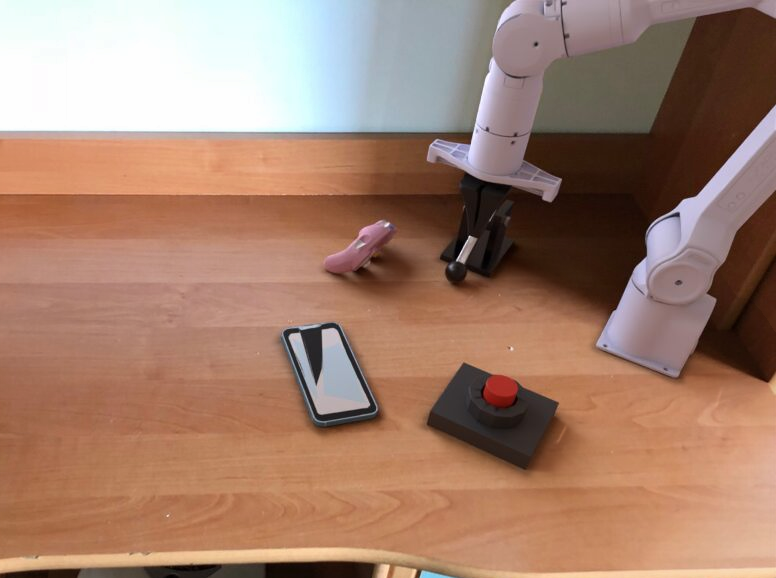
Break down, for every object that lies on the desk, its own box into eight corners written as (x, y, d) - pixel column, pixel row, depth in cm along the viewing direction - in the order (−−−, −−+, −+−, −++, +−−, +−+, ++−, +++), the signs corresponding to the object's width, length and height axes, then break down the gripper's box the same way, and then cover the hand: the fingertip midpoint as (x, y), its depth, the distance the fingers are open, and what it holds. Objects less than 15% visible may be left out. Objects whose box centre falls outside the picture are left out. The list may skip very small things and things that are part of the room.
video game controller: (342, 291, 103) (369, 261, 97) (318, 266, 103) (343, 235, 97) (383, 256, 108) (410, 226, 103) (359, 232, 109) (385, 201, 103)
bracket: (488, 278, 103) (502, 228, 98) (439, 260, 106) (450, 210, 100) (513, 245, 109) (527, 196, 103) (465, 228, 111) (477, 179, 106)
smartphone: (314, 424, 83) (278, 328, 93) (314, 430, 84) (278, 334, 94) (381, 413, 84) (338, 320, 94) (380, 418, 85) (338, 326, 95)
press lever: (461, 290, 102) (461, 280, 99) (441, 282, 103) (440, 272, 100) (501, 215, 104) (501, 203, 101) (481, 208, 105) (481, 197, 102)
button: (518, 394, 83) (522, 382, 82) (507, 413, 81) (511, 401, 80) (489, 382, 84) (493, 370, 83) (478, 400, 82) (481, 388, 81)
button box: (553, 416, 86) (564, 390, 83) (525, 470, 81) (535, 445, 78) (459, 375, 90) (466, 350, 87) (426, 424, 84) (432, 399, 82)
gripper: (583, 129, 82) (547, 237, 92) (455, 91, 88) (433, 197, 97) (561, 156, 78) (526, 267, 88) (428, 115, 83) (408, 224, 93)
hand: (476, 233), depth 92 cm, fingers closed
